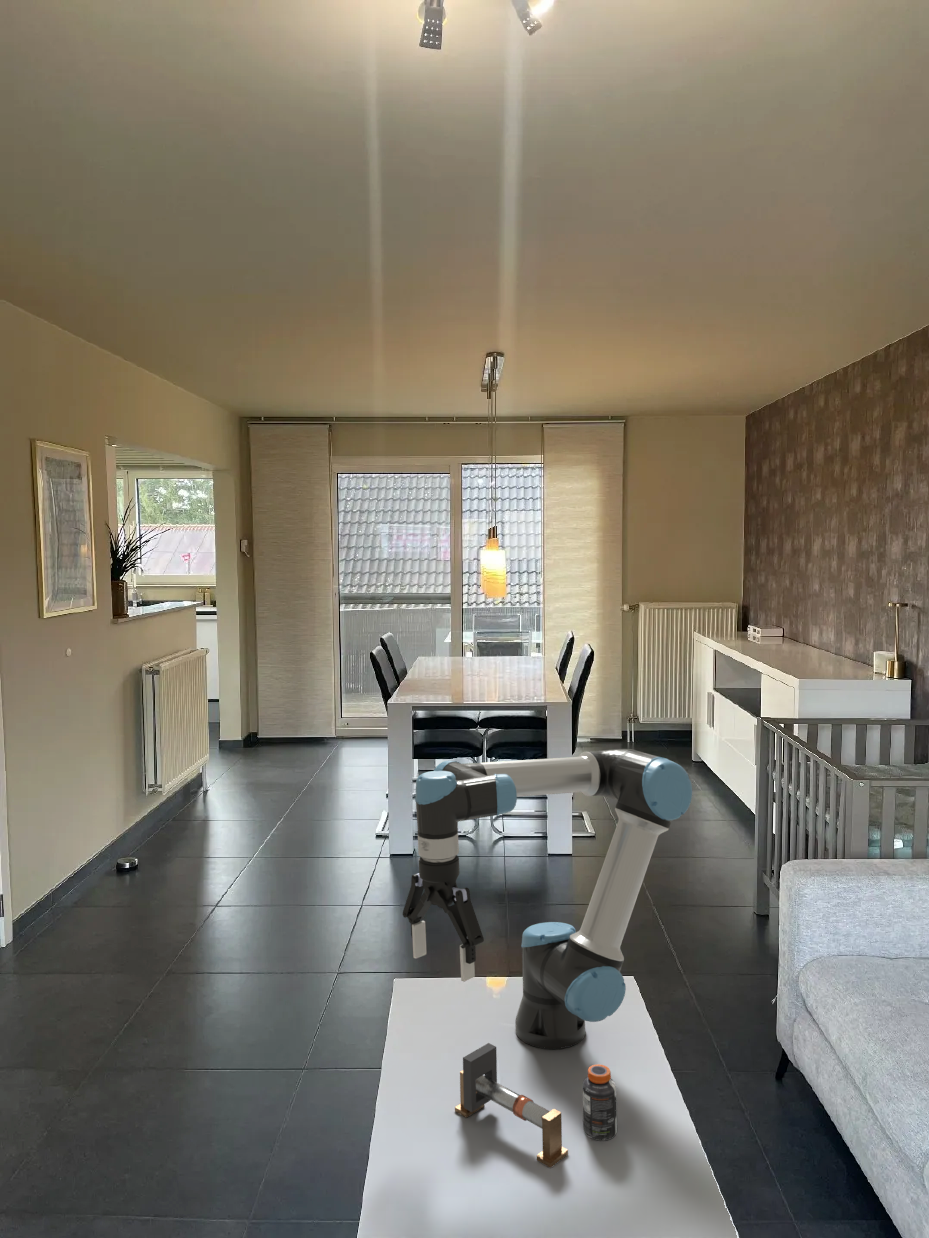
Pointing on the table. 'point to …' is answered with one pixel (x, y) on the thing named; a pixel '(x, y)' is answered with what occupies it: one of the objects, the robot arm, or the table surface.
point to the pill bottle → (599, 1104)
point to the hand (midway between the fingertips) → (443, 967)
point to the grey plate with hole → (478, 1074)
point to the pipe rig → (522, 1116)
